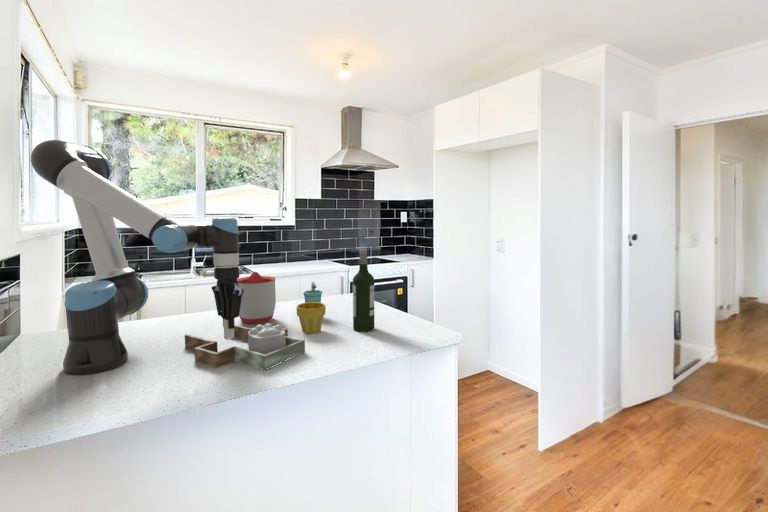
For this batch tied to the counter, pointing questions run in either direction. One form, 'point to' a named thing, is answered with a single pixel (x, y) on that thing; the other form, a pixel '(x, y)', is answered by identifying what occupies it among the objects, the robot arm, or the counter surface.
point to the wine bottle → (363, 297)
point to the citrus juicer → (257, 298)
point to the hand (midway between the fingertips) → (229, 337)
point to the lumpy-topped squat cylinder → (266, 338)
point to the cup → (312, 294)
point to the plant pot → (311, 316)
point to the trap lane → (242, 351)
